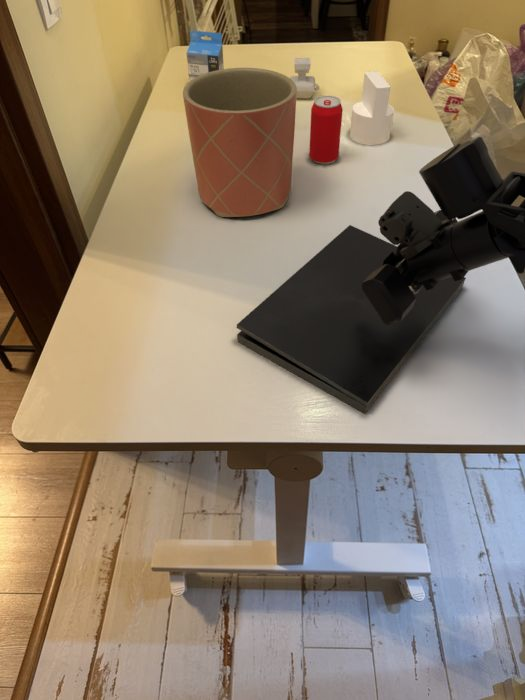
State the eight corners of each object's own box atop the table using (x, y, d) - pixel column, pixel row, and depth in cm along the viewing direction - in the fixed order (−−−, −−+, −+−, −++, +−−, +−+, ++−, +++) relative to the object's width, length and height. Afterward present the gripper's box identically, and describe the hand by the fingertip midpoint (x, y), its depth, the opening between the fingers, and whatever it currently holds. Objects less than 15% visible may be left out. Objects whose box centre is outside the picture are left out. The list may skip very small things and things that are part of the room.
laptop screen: (236, 328, 72) (236, 324, 72) (349, 228, 88) (349, 224, 88) (366, 406, 64) (367, 403, 64) (464, 281, 80) (466, 277, 80)
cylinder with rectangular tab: (395, 143, 115) (405, 86, 106) (355, 146, 114) (362, 89, 105) (382, 125, 121) (391, 70, 112) (345, 128, 120) (350, 73, 111)
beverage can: (338, 152, 112) (343, 94, 103) (338, 166, 108) (343, 107, 99) (309, 151, 113) (312, 94, 104) (308, 165, 109) (311, 107, 100)
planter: (189, 178, 106) (175, 73, 91) (278, 165, 109) (279, 62, 94) (205, 230, 93) (192, 119, 79) (306, 213, 96) (311, 103, 82)
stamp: (283, 101, 131) (283, 65, 125) (284, 90, 135) (285, 55, 129) (318, 101, 130) (320, 65, 124) (319, 91, 135) (321, 55, 128)
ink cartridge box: (189, 86, 138) (183, 35, 129) (194, 81, 141) (189, 30, 132) (220, 90, 136) (216, 37, 127) (225, 84, 139) (222, 32, 130)
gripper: (465, 151, 62) (372, 203, 75) (390, 223, 52) (298, 268, 65) (508, 229, 65) (411, 266, 77) (444, 312, 55) (345, 338, 68)
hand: (369, 282), depth 72 cm, fingers closed
